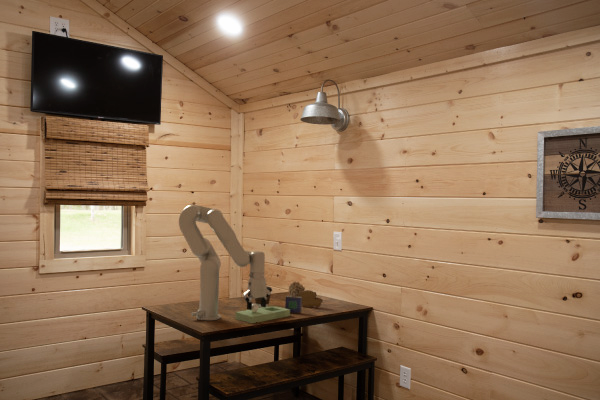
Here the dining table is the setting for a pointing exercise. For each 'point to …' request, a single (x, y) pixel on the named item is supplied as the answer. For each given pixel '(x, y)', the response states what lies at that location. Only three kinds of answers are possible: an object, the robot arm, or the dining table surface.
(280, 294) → the dining table surface
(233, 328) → the dining table surface
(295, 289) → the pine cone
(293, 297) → the blue box
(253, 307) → the ball
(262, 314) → the green tray with wells
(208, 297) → the robot arm
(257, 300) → the coffee cup
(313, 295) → the wooden carving
